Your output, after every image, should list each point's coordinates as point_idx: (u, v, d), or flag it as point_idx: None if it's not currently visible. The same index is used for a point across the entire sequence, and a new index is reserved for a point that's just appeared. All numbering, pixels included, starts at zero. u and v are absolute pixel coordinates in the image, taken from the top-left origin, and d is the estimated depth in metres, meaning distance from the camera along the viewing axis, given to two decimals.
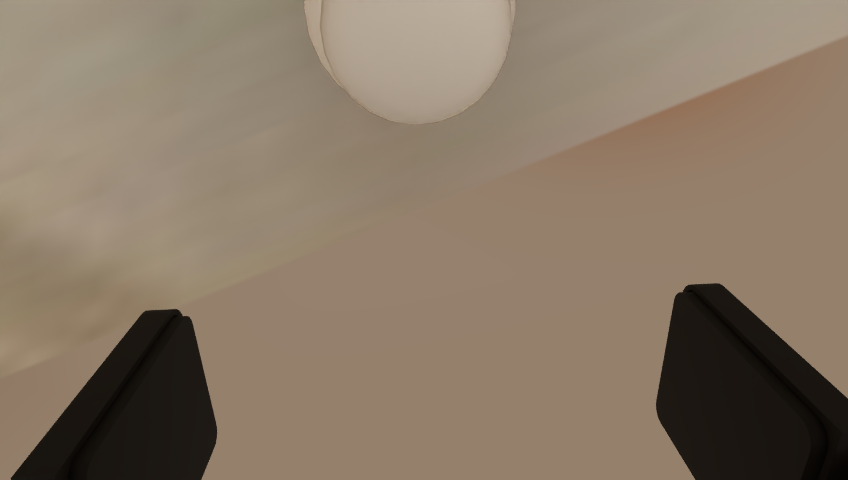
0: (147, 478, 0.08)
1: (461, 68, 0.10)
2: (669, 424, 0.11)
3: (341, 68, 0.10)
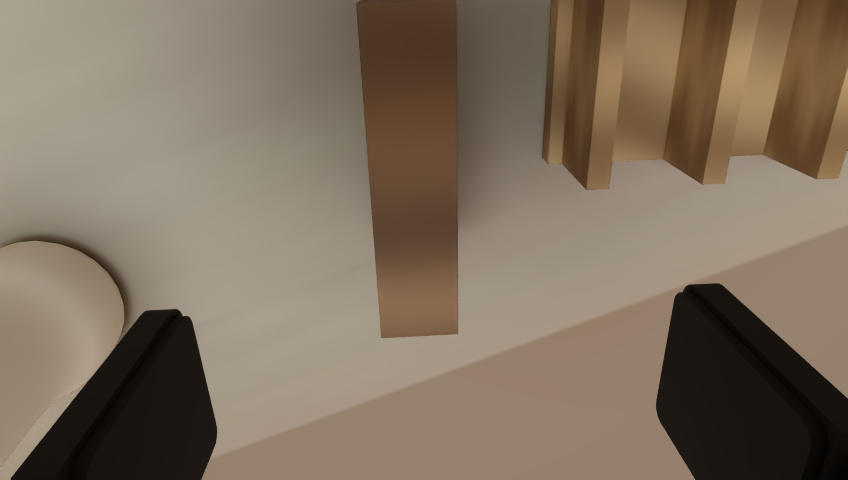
0: (147, 478, 0.08)
1: None
2: (669, 424, 0.11)
3: None
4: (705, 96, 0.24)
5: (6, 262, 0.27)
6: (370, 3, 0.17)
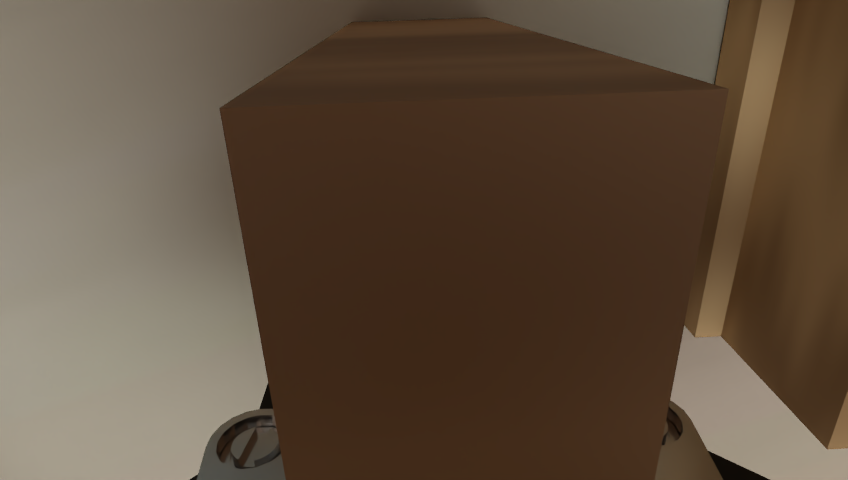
0: None
1: None
2: None
3: None
4: None
5: None
6: (295, 107, 0.03)
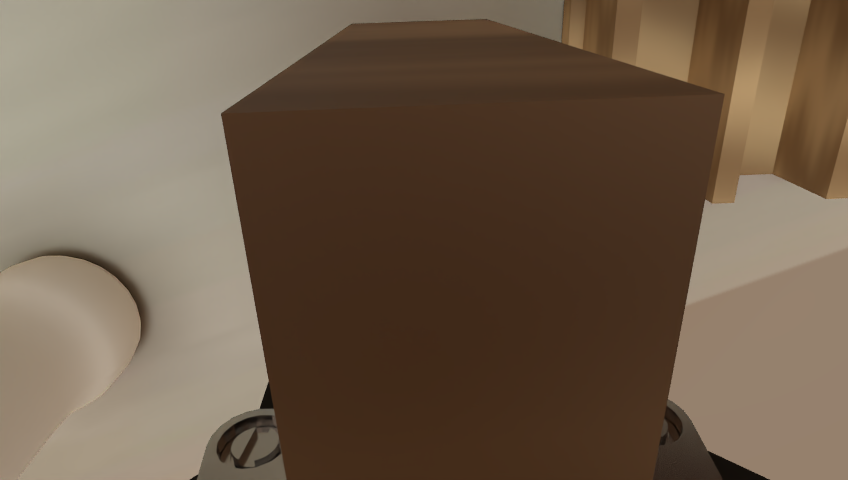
0: None
1: None
2: None
3: None
4: None
5: (32, 277, 0.27)
6: (295, 112, 0.03)
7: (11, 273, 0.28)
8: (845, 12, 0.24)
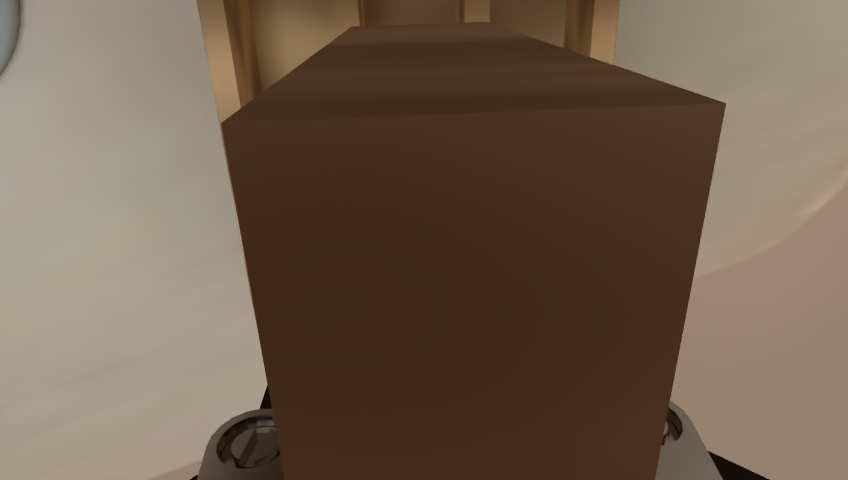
0: None
1: None
2: None
3: None
4: None
5: None
6: (296, 122, 0.03)
7: None
8: None
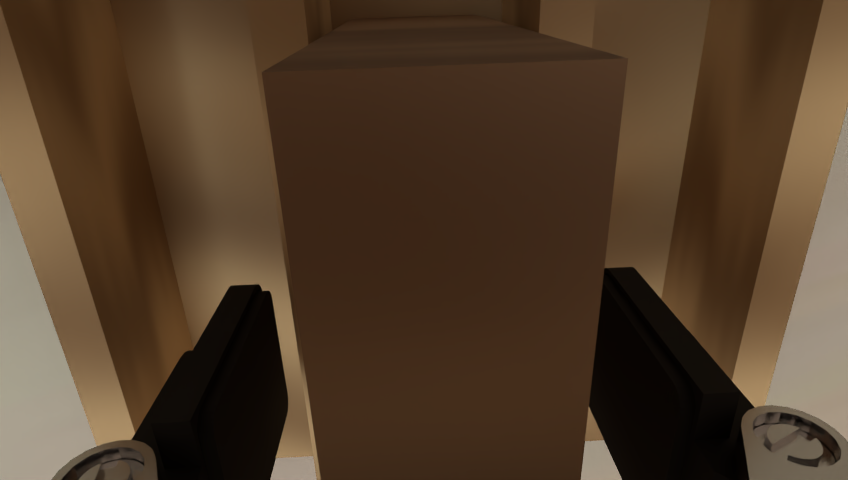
0: (248, 434, 0.09)
1: None
2: (591, 400, 0.11)
3: None
4: None
5: None
6: (315, 72, 0.05)
7: None
8: None
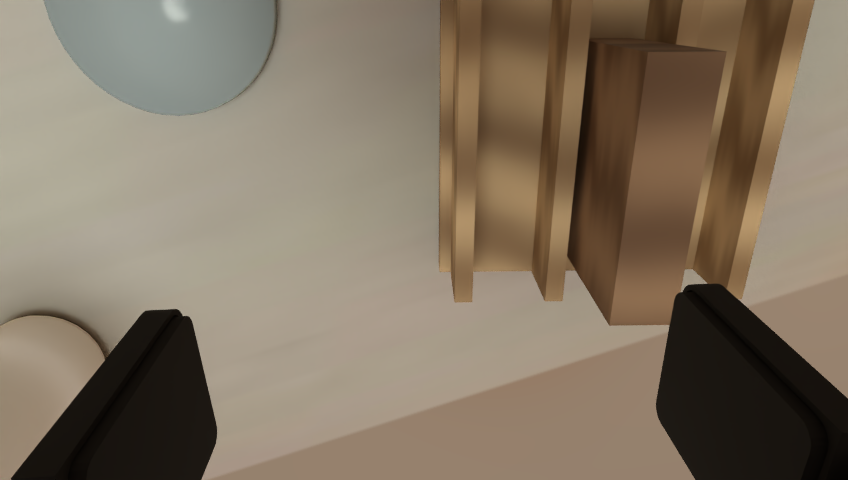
0: (147, 478, 0.08)
1: None
2: (669, 424, 0.11)
3: None
4: (546, 235, 0.32)
5: (23, 338, 0.34)
6: (658, 52, 0.21)
7: (5, 333, 0.35)
8: None
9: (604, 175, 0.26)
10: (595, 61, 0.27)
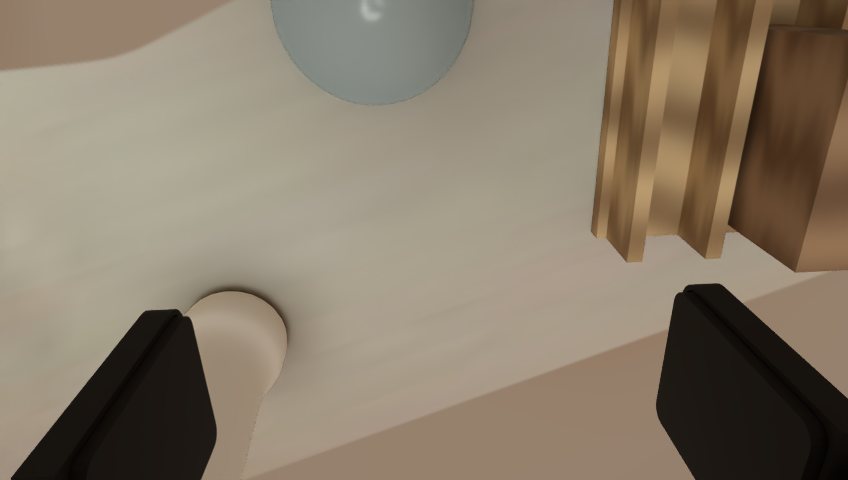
0: (147, 478, 0.08)
1: None
2: (669, 424, 0.11)
3: None
4: (707, 201, 0.36)
5: (231, 311, 0.38)
6: None
7: (214, 307, 0.39)
8: None
9: (786, 144, 0.30)
10: (770, 46, 0.31)
